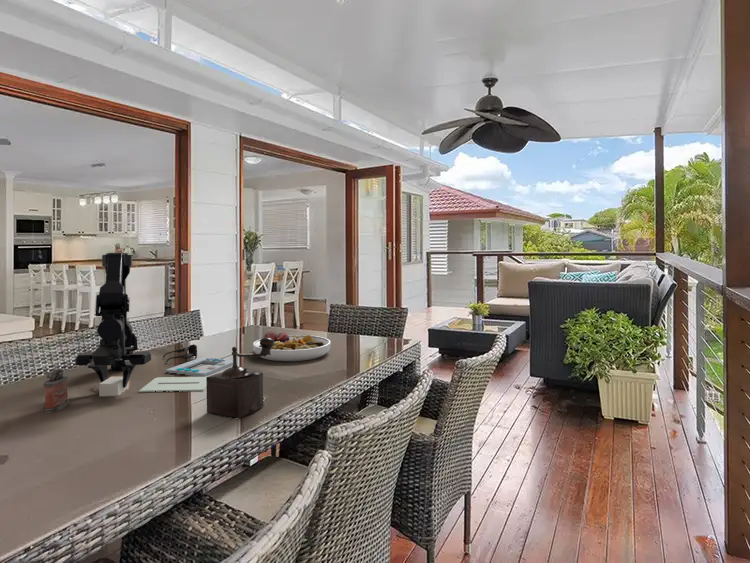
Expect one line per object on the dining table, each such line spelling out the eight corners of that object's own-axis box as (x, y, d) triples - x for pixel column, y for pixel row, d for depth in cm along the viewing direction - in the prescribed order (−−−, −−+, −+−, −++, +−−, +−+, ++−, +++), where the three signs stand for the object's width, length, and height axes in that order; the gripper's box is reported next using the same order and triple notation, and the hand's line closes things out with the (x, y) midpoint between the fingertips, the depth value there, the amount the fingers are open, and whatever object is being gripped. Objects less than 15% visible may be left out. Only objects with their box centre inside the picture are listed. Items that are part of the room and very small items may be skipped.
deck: (99, 396, 136) (98, 383, 135) (112, 387, 144) (111, 376, 143) (118, 395, 136) (117, 383, 136) (129, 387, 144) (129, 375, 144)
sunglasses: (201, 360, 179) (199, 347, 178) (167, 369, 173) (165, 355, 172) (194, 355, 188) (192, 342, 187) (161, 362, 181) (159, 350, 181)
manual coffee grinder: (239, 420, 118) (239, 347, 117) (205, 413, 123) (204, 343, 122) (278, 401, 132) (277, 336, 131) (245, 396, 137) (245, 333, 136)
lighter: (58, 402, 130) (57, 365, 129) (72, 402, 130) (70, 365, 130) (40, 412, 122) (39, 373, 121) (54, 412, 122) (53, 373, 122)
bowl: (345, 352, 196) (345, 333, 195) (295, 367, 170) (295, 345, 170) (289, 343, 212) (289, 325, 211) (236, 356, 186) (236, 336, 186)
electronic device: (200, 356, 178) (236, 359, 174) (200, 362, 178) (236, 365, 174) (166, 368, 161) (204, 372, 156) (166, 375, 161) (205, 379, 157)
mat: (138, 392, 140) (138, 390, 140) (156, 379, 153) (156, 377, 153) (203, 391, 141) (203, 389, 141) (214, 378, 155) (214, 376, 155)
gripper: (63, 339, 130) (65, 396, 131) (136, 339, 132) (137, 395, 133) (84, 332, 141) (86, 385, 142) (151, 331, 143) (152, 384, 144)
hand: (114, 387), depth 140 cm, fingers closed on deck, 5 cm apart
